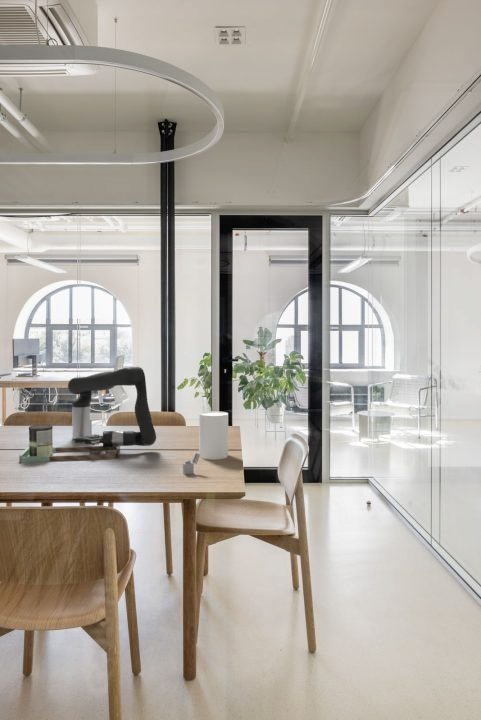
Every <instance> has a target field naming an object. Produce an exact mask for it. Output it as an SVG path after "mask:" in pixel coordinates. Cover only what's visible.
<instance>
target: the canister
mask: <svg viewBox="0 0 481 720" xmlns="http://www.w3.org/2000/svg"><path fill="white" fill-rule="evenodd" d="M198 417H199V419H198V421H199V422H198V423H199V424H198V425H199V426H198V433H199V434H198V454H200V457H199V459H200V458H201V459H203V460H214V461H215V460H223V459H227V458H228V456H229V413H228V412H226V411H218V410H217V411H202V412H199V413H198Z"/></svg>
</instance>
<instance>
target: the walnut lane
mask: <svg viewBox="0 0 481 720" xmlns="http://www.w3.org/2000/svg"><path fill="white" fill-rule="evenodd" d="M120 447H121V446H120ZM120 447H103V445H87V446H61V447H60V446H59V447H57V446H56V452H55V453H66V452H67V453H69V452H71V453H72V452H90V451H100V450H101V451H105V450H116V453H113V454H105V453H100V454H89V453H88V454H69V455H65V454H64V455H53V456H50V461H49V462H58V461H61V462H62V461H81V460H84V461H85V460H86V461H87V460H108V459H119V455H120V450H121V448H120ZM18 458H19V457H18ZM19 459H20V460H21V458H19ZM19 463H22V462H21V461H20V462H19Z"/></svg>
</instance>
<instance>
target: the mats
mask: <svg viewBox="0 0 481 720" xmlns="http://www.w3.org/2000/svg"><path fill="white" fill-rule="evenodd" d="M101 452H102V450H99V451H89V453H88V454H102V453H101ZM113 453H116V450H104V454H113Z"/></svg>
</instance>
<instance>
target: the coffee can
mask: <svg viewBox="0 0 481 720" xmlns="http://www.w3.org/2000/svg"><path fill="white" fill-rule="evenodd" d="M53 428H54V426H53V425H52V424H32V425H30V426H28V442H29V443H28V444H29V445H28V446H29V455H28V457H30V456H54V455H53V453H54V452H53V446H54V445H53Z"/></svg>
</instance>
